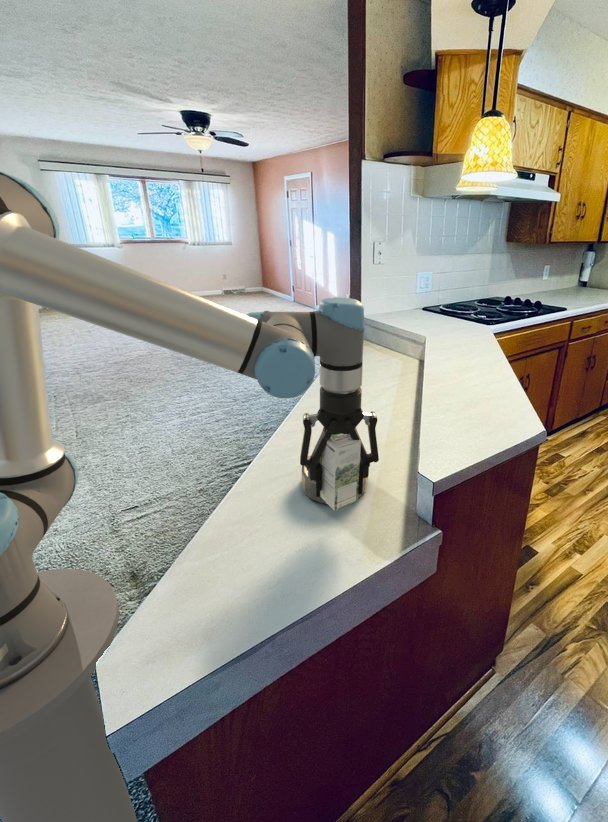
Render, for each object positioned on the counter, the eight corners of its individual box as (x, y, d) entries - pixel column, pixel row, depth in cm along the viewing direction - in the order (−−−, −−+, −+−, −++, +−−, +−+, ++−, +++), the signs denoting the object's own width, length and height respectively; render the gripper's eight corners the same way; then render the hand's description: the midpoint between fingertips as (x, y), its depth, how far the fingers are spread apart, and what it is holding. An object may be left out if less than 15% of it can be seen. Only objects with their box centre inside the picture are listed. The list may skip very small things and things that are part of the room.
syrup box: (343, 486, 86) (344, 426, 81) (359, 501, 82) (361, 438, 77) (319, 496, 83) (318, 433, 78) (334, 512, 79) (335, 447, 73)
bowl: (301, 508, 89) (301, 489, 87) (302, 468, 103) (302, 451, 101) (370, 504, 92) (371, 485, 90) (362, 465, 106) (363, 449, 104)
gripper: (393, 377, 78) (386, 477, 87) (283, 379, 75) (287, 482, 84) (401, 393, 72) (392, 500, 80) (280, 395, 68) (285, 506, 77)
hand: (339, 491), depth 82 cm, fingers closed on syrup box, 8 cm apart
